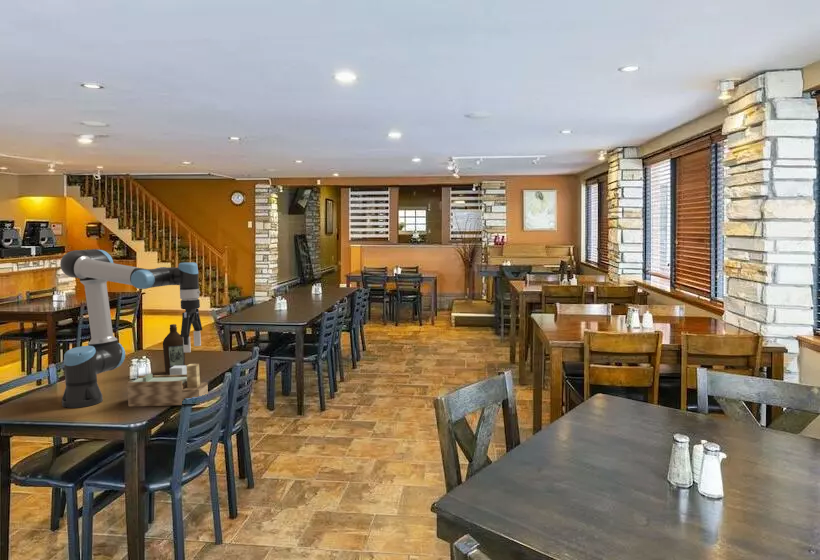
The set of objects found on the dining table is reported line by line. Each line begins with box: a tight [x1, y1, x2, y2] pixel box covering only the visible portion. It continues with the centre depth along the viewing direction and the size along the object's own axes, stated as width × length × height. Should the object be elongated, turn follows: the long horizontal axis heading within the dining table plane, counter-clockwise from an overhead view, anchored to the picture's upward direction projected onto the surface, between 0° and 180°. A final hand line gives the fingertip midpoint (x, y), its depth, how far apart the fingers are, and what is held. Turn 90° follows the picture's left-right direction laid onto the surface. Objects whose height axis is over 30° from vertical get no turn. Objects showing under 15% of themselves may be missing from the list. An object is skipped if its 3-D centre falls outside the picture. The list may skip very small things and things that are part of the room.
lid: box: [132, 373, 187, 384], centre depth 248 cm, size 21×9×3 cm, turn 93°
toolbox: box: [126, 374, 209, 407], centre depth 249 cm, size 29×12×10 cm, turn 93°
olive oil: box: [162, 323, 186, 375], centre depth 299 cm, size 11×11×25 cm
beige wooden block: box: [187, 363, 201, 388], centre depth 249 cm, size 4×4×10 cm
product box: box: [170, 364, 188, 375], centre depth 282 cm, size 6×6×7 cm
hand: (192, 349), depth 248 cm, fingers open, 13 cm apart
